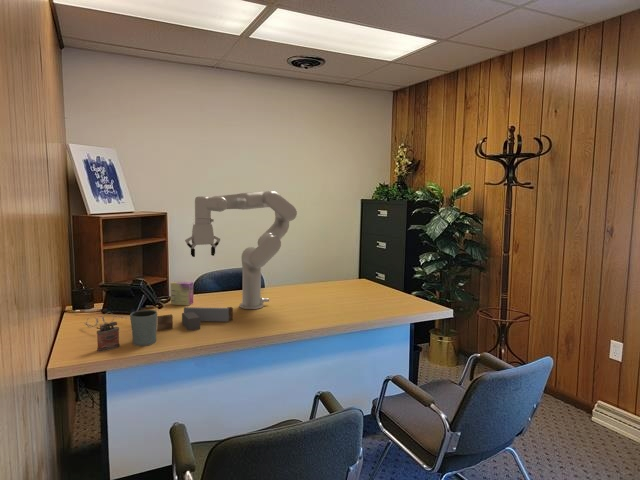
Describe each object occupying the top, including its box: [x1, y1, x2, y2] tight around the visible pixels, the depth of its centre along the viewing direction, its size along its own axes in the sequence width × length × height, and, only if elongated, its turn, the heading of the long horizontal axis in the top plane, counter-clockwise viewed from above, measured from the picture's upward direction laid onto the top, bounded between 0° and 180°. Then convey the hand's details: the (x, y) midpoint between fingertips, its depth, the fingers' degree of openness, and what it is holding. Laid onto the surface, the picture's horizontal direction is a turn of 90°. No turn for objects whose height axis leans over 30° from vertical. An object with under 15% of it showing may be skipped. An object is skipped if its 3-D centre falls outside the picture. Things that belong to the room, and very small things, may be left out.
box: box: [170, 280, 194, 307], centre depth 227 cm, size 10×6×12 cm, turn 84°
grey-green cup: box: [129, 309, 158, 347], centre depth 170 cm, size 10×10×12 cm
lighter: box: [96, 321, 121, 352], centre depth 163 cm, size 8×3×10 cm, turn 138°
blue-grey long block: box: [183, 306, 229, 323], centre depth 199 cm, size 20×3×6 cm, turn 92°
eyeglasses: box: [84, 312, 131, 330], centre depth 186 cm, size 16×19×5 cm
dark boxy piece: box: [181, 312, 201, 332], centre depth 191 cm, size 5×10×6 cm, turn 35°
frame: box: [157, 306, 234, 332], centre depth 194 cm, size 34×2×6 cm, turn 121°
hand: (203, 256), depth 212 cm, fingers open, 9 cm apart
